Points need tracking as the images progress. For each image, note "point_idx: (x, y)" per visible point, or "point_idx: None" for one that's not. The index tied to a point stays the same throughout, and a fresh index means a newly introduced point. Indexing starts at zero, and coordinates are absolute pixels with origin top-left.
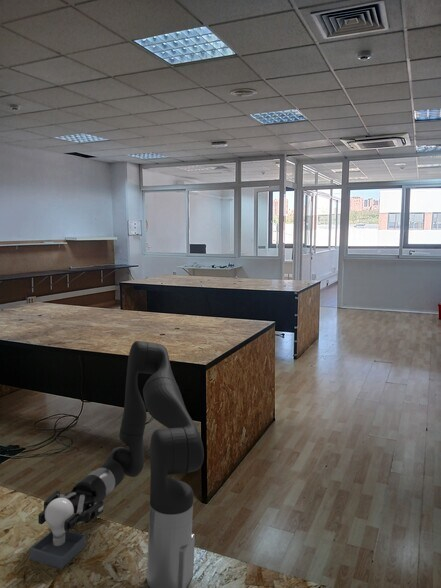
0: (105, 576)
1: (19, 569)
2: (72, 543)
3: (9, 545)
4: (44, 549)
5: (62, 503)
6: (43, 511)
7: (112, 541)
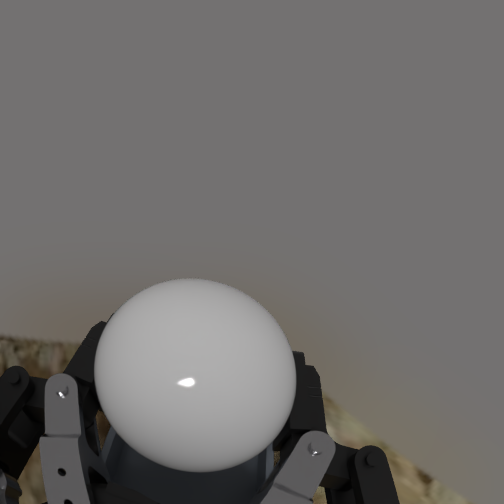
0: (28, 355)
1: None
2: (157, 497)
3: (367, 440)
4: None
5: (159, 286)
6: (316, 399)
7: (20, 498)
